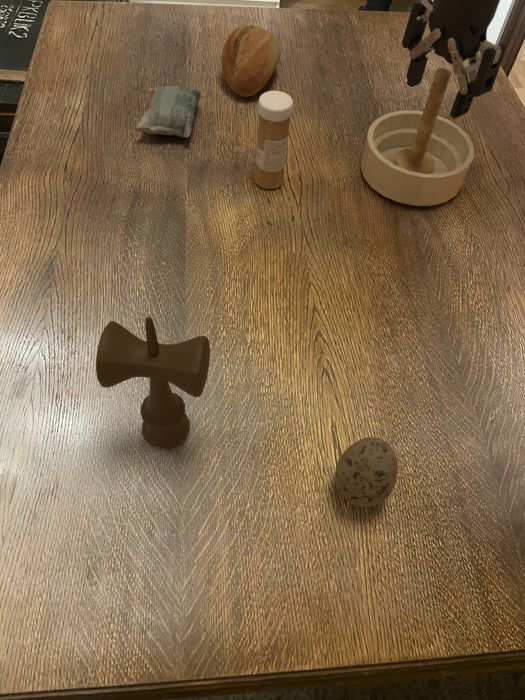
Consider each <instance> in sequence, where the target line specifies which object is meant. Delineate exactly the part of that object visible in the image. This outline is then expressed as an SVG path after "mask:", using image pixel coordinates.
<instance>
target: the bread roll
mask: <svg viewBox="0 0 525 700" xmlns="http://www.w3.org/2000/svg"><path fill="white" fill-rule="evenodd" d="M281 54H282V53H281V46H280V43H279V41H278V39H277V38H276V36H275V35H274V33H273V32H272V31H269V30H267V29H265V28H263V27H260V26H254V25H253V24H250V25H249V24H242V25H240V26H238V27H236V28H235V29H234V30H232V31H231V33H230V34H229V36H228V37H227V38H226V41H225V42H224V45H223V48H222V51H221V59H220V60H221V68H222V72H223V75H224V77H225V80H226V83H227V84H228V86H229V88H230V89H231V90H232V91H233V92H234V93H235V94H237V95H238V96H240V97H243V98H246V97H247V98H249V97H251V96H255V95H256V94H257V93H259V92H260V91H261V90H262V89H263V88H264V87H265V86H266V85H267V83H268V82H269V80H270V79H271V77H272V75H273V73H274V72H275V71H276V68H277V67H278V64H279V63H280V59H281Z"/></svg>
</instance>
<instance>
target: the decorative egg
mask: <svg viewBox="0 0 525 700" xmlns="http://www.w3.org/2000/svg"><path fill="white" fill-rule="evenodd" d="M398 466H399V465H398V459H397V455H396V453H395V451H394V449H393V447H392V445H390V443H389V442H387V441H386V440H384V439H382V438H379V437H374V436H371V437H369V436H368V437H365V438H361V439H359V440H357V441H355V442H353V443H351V444H350V445H349V446H348V447H347V448H346V449H345V450H344V451H343V453H341V455H340V457H339V458H338V460H337V463H336V465H335V471H334V481H335V486H336V488H337V490H338V492H339V494H340V495H341V496H342V498H343V499H344V500H345V501H346V502H348V503H349V504H351V505H354V506H357V507H361V508H369V507H374V506H377V505H379V504H381V503H382V502H384V501H386V500H387V498H388V497H389V496H390V495H391V493H392V491H393V490H394V488H395V486H396V484H397V480H398V474H399V473H398V470H399V469H398Z"/></svg>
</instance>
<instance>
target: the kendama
mask: <svg viewBox="0 0 525 700" xmlns="http://www.w3.org/2000/svg"><path fill="white" fill-rule="evenodd" d="M145 337H146V340H143V339H142V338H140V337H138V336H137V335H135V334H134V333H132V332H131V331H130V330H128V329H127V328H126V327H124V326H123V325H122V324H120V323H119V322H117V321H114V320H110V321H109V322H108V323H107V324H106V325H105V327H104V328H103V331H102V333H101V335H100V338H99V341H98V345H97V351H96V357H95V373H96V379H97V382H98V384H99V385H100V387H101V388H105V389H107V388H111V387H114V386H117V385H120V384H121V383H123V382H125V381H128V380H131V379H133V378H148V379H149V393H148V395H147V396H145V398H143V400H142V403H141V405H140V414H139V415H140V416H141V419H142V423H141V434H142V436H143V440H144V441H145V442H146V443H148V444H149V445H150V446H152V447H154V448H158V449H173V448H176V447H179V446H181V444H183V443H184V442H185V440H186V439H187V438H188V434H189V432H190V423H191V422H190V419H189V417H188V414H187V413H186V404H185V402H184V399H183V397H181V396H180V395H179V394H177V393H175V392H173V391H172V388H171V386H170V384H171V385H173V386H175V387H176V388H178V389H179V390H181V391H183V392H185V393H186V394H188V395H189V396H191V397H194V398H200V397H201V396H202V395H203V392H204V390H205V387H206V383H207V381H208V374H209V368H210V360H211V359H210V358H211V345H210V340H209V338H208V336H205V335H199V336H195V337H192V338H189V339H187V340H184V341H181V342H178V343H171V344H170V343H168V344H167V343H160V342H159V340H158V336H157V332H156V327H155V323H154V320H153V318H152V317H150V316H146V317H145Z"/></svg>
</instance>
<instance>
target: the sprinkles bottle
mask: <svg viewBox="0 0 525 700" xmlns="http://www.w3.org/2000/svg"><path fill="white" fill-rule="evenodd" d="M293 105H294V102H293V98H292V97H291V95H289V94H288V93H286V92H285V91H280V90H269V91H265V92H263V93H262V94H261V95H260V96H259V98H258V106H257V107H258V108H257V111H258V115H259V116H258V127H257V138H256V152H255V172H254V176H253V177H254V182H255V184H256V185H257V186H259V187H260V188H262V189H266V190H274V189H279V188H280V187H281V186H282V185H283V184H284V183H285V176H284V175H285V167H286V164H287V163H286V162H287V153H288V144H289V137H290V132H289V131H290V123H291V117H292V114H293V107H294V106H293Z"/></svg>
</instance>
